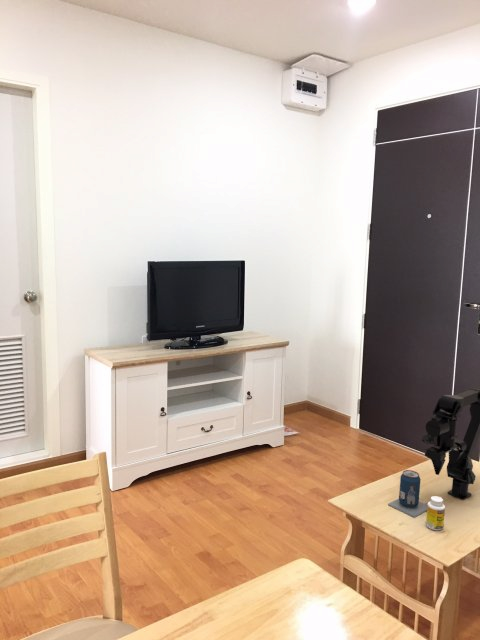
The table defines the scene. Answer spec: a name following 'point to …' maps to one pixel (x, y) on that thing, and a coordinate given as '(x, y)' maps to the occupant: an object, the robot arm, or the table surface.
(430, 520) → the supplement bottle
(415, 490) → the soda can
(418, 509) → the coaster
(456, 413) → the robot arm
